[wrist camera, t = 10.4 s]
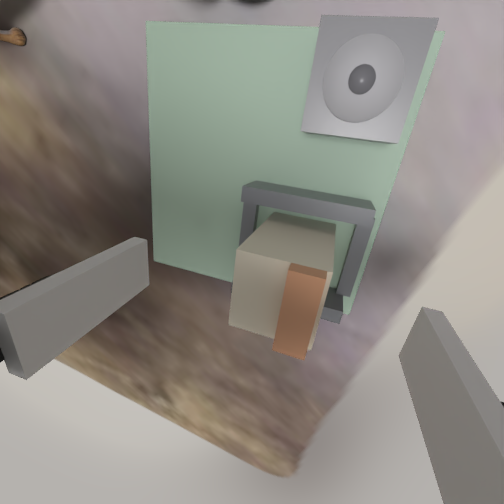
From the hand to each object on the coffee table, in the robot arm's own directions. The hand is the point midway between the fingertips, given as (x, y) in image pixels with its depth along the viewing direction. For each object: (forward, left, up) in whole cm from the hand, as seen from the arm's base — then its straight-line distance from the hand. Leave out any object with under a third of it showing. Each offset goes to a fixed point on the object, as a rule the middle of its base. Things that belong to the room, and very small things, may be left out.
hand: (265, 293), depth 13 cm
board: (-4, +4, -9) cm, 11 cm away
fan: (+2, +10, -8) cm, 13 cm away
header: (0, 0, -8) cm, 8 cm away
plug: (0, 0, -8) cm, 8 cm away
